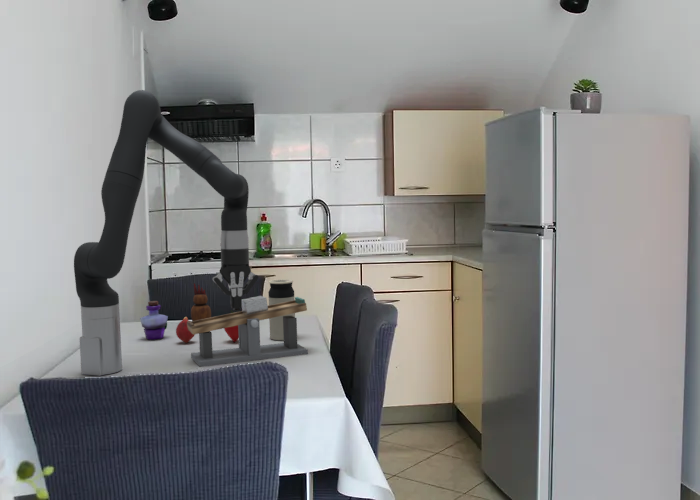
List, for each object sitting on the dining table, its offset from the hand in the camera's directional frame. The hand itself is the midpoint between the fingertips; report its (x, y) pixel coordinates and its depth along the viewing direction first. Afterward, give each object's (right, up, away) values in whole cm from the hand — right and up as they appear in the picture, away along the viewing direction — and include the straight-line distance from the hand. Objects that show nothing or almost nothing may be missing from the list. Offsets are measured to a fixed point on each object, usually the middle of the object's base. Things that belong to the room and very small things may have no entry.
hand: (236, 309), depth 186 cm
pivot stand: (+3, -13, +2) cm, 14 cm away
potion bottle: (-31, -12, +29) cm, 44 cm away
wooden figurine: (-21, -10, +50) cm, 55 cm away
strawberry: (-4, -12, +21) cm, 24 cm away
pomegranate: (-19, -12, +21) cm, 31 cm away
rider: (+5, -1, +2) cm, 6 cm away
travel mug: (+10, -11, +25) cm, 29 cm away
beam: (+3, -3, +1) cm, 4 cm away
